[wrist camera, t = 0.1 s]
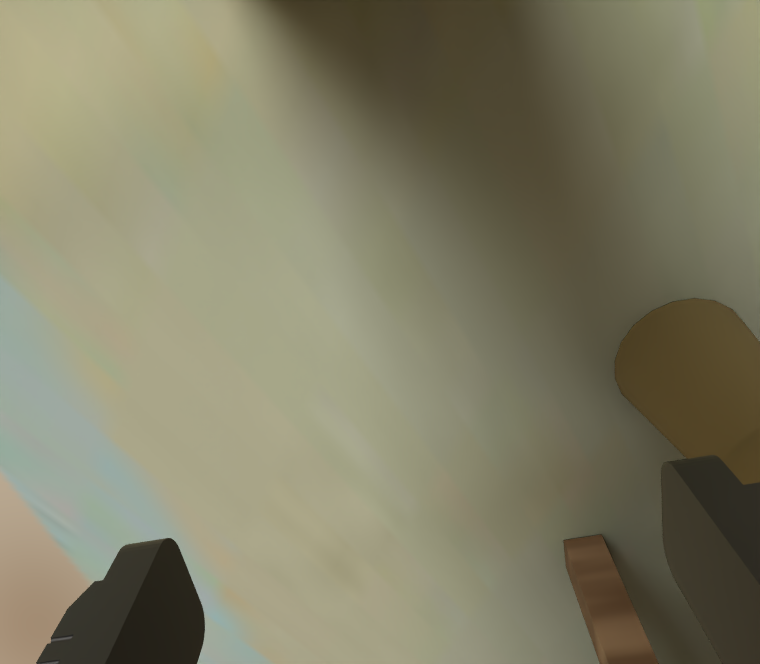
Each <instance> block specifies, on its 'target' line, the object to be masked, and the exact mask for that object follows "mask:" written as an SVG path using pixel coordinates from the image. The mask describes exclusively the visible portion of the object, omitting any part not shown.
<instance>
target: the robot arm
mask: <svg viewBox="0 0 760 664" xmlns="http://www.w3.org/2000/svg"><path fill="white" fill-rule="evenodd" d="M661 486H662V526H663V544H664V550H665V554H666V558H667V561H668V564H669V567H670V570H671V572H672V575H673V577H674V579H675V581H676V583H677V584H678V586H679V588H680V590H681V591H682V593H683V595H684V597H685V598H686V600H687V602H688V604H689V605H690V607H691V609H692V611H693V612H694V614H695V616H696V618H697V619H698V621H699V623H700V625H701V626H702V628H703V630H704V632H705V633H706V635H707V637H708V639H709V640H710V642H711V644H712V646H713V647H714V649H715V651H716V653H717V654H718V656H719V658H720V660H721V661H722V663H723V664H760V482H759V483H752V484H746V485H743V484H742V483H741V482H740V480H739V479H738V478H737V477H736V476H735V475H734V474H733V472H732V471H731V470H730V469H729V468H728V467H727V465H726V464H725V463H724V462H723V461H722V460H721V459H720V458H719V457H718V456H716V455H708V456H702V457H695V458H689V459H682V460H676V461H670V462H665V463H664V464H663V466H662V470H661ZM204 633H205V620H204V612H203V608H202V604H201V602H200V599H199V597H198V594H197V592H196V589H195V587H194V584H193V582H192V579H191V577H190V574H189V572H188V569H187V567H186V564H185V562H184V559H183V557H182V554H181V552H180V549H179V547H178V545H177V543H176V542H175V541H174V540H173V539H171V538H166V539H159V540H153V541H147V542H140V543H134V544H128V545H125V546H123V547H122V548H121V549H120V551H119V552H118V554H117V556H116V558H115V560H114V561H113V563H112V565H111V567H110V569H109V571H108V572H107V574H106V576H105V578H104V580H102V581H95V582H94V583H93V584H92V585H91V586H90V587H89V588H88V589H87V590H86V591H85V592H84V593H83V594H82V595H81V596H80V597H79V598H78V599H77V600H76V601H75V602H74V603H73V604H72V605H71V606H70V607H69V608H68V609H67V611H66V613H65V614H64V616H63V618H62V619H61V621H60V623H59V625H58V626H57V628H56V630H55V631H54V633H53V635H52V637H51V643H50V644H47V645H46V647H45V649H44V650H43V652H42V654H41V656H40V657H39V659H38V661H37V662H36V663H37V664H197V662H198V658H199V655H200V652H201V649H202V645H203V641H204Z"/></svg>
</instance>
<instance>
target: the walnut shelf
mask: <svg viewBox="0 0 760 664" xmlns="http://www.w3.org/2000/svg"><path fill="white" fill-rule="evenodd" d="M564 550H565V561H566V568H567V571H568V574H569V577H570V580H571V583H572V585H573V588H574V591H575V594H576V597H577V600H578V602H579V605H580V608H581V611H582V614H583V617H584V620H585V622H586V625H587V628H588V631H589V634H590V637H591V639H592V642H593V645H594V648H595V651H596V654H597V656H598V659H599V662H600V664H659V663H658V661H657V659H656V656H655V654H654V652H653V650H652V647H651V645H650V643H649V641H648V638H647V636H646V634H645V632H644V629H643V627H642V625H641V623H640V620H639V618H638V616H637V614H636V611H635V609H634V607H633V605H632V602H631V600H630V598H629V595H628V593H627V591H626V589H625V586H624V584H623V582H622V580H621V577H620V575H619V573H618V571H617V568H616V566H615V564H614V562H613V559H612V557H611V555H610V553H609V550H608V548H607V546H606V544H605V541H604V539H603V537H602V535H595V536H589V537H582V538H575V539H569V540H564Z"/></svg>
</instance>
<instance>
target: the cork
mask: <svg viewBox="0 0 760 664" xmlns="http://www.w3.org/2000/svg"><path fill="white" fill-rule="evenodd" d="M615 379H616V382H617V384H618V386H619V389H620V391H621V393H622V395H623V396H624V397H625V398H627V399H628V400H629V401H630V402H631V403H632V404H633V405H634V406H635V407H636V408H637V409H638V410H639V411H640V412H641V413H642V414H643V415H644V416H645V417H646V418H647V419H648V420H649V421H650V422H651V423H652V424H653V425H654V426H655V427H656V428H657V429H658V430H659V431H660V432H661V433H662V434H663V435H664V436H665V437H666V438H667V439H668V440H669V441H670V442H671V443H672V444H673V445H674V446H675V447H676V448H677V449H678V450H679V451H680V452H681V453H682V454H683V455H684V456H685V457H686V458H687V459H689V458H695V457H702V456H708V455H716V456H718V457H719V458H720V459H721V460H722V461H723V462H724V463H725V464H726V465H727V467H728V468H729V469H730V470H731V471H732V472H733V474H734V475H735V476H736V477H737V478H738V479H739V480H740V482H741V483H742V484H743V485H746V484H752V483H759V482H760V342H759V341H758V340H757V338H756V337H755V336H754V335H753V333H752V332H751V331H750V330H749V328H748V327H747V326H746V325H745V323H744V322H743V321H742V320H741V319H740V318H739V316H738V315H737V314H736V313H735V312H734V311H733V310H732V309H730V308H728V307H726V306H724V305H722V304H720V303H718V302H716V301H712V300H704V299H696V298H693V299H687V300H681V301H675V302H671V303H669V304H667V305H664V306H662V307H660V308H658V309H655V310H653V311H651V312H650V313H649V314H647V315H646V316H645V317H644V318H642V319H641V320H640V321H639V322H637V323H636V324H635V325H634V326H633V327H632V328H631V330H630V331H629V332H628V334H627V335H626V337H625V338H624V339H623V341H622V342H621V344H620V347H619V350H618V353H617V356H616V359H615Z"/></svg>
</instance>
